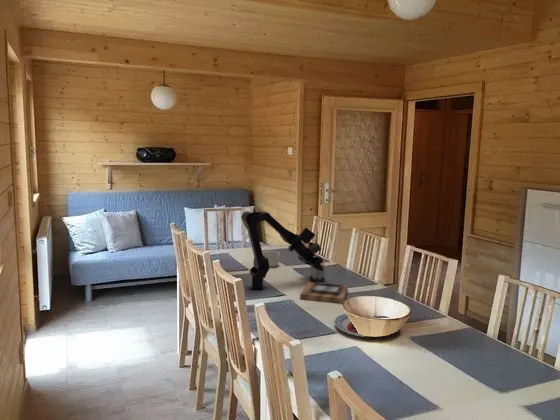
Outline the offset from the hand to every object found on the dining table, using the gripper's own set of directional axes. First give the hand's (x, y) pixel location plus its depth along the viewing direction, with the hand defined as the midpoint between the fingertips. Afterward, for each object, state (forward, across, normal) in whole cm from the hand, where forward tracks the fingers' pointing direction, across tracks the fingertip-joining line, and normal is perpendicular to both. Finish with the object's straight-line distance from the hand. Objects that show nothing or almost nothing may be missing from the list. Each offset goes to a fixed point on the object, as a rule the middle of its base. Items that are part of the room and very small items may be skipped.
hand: (319, 269), depth 253 cm
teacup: (-5, +37, +15) cm, 41 cm away
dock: (-1, -21, +11) cm, 24 cm away
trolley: (+4, 0, +6) cm, 7 cm away
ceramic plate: (-4, -63, +14) cm, 65 cm away
